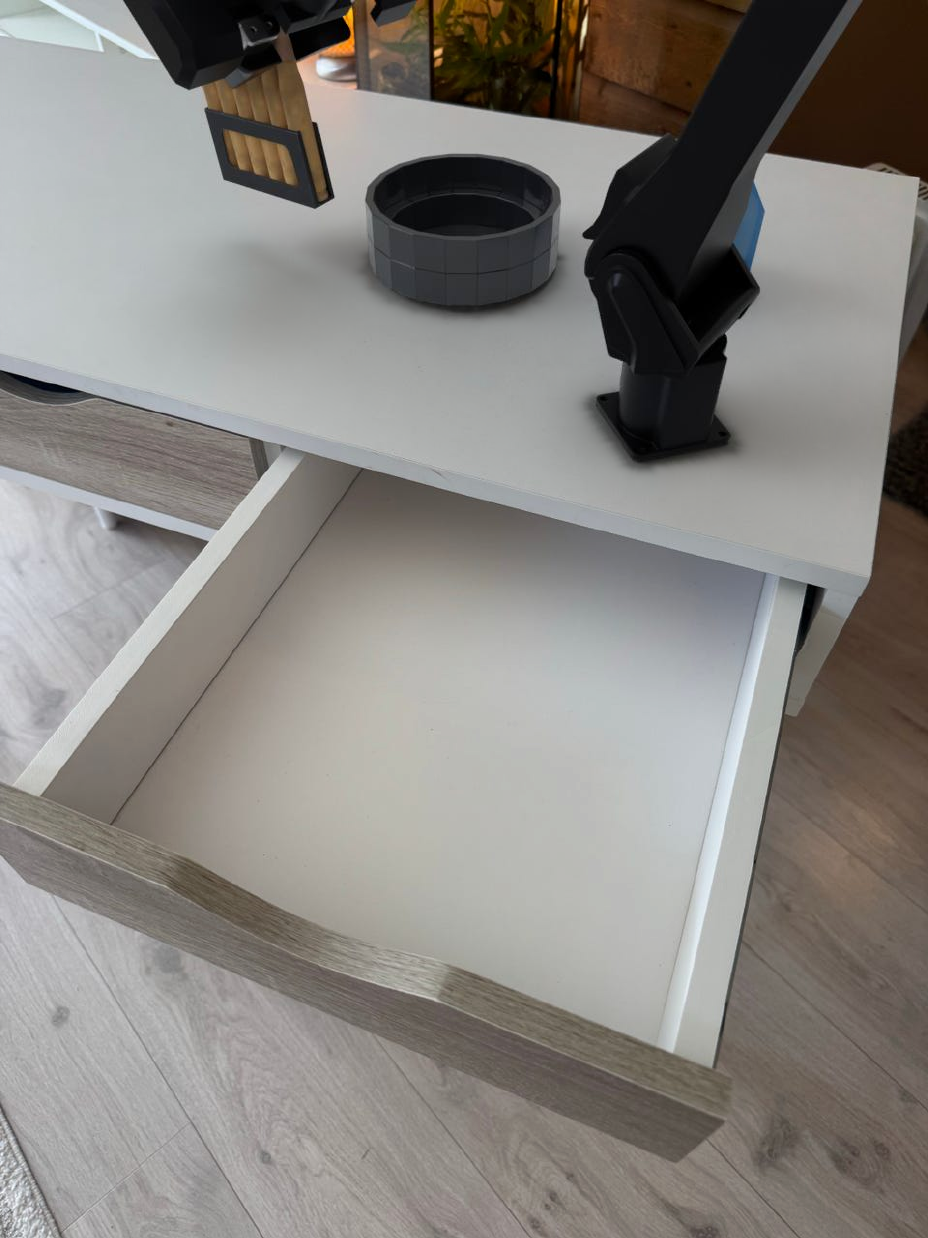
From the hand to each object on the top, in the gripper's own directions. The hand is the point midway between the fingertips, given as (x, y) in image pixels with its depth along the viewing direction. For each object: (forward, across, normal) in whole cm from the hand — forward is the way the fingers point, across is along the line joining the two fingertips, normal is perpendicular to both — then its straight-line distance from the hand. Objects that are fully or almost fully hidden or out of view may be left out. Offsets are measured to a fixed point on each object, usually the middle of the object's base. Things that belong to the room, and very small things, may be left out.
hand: (240, 77), depth 64 cm
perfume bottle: (-9, -18, +28) cm, 34 cm away
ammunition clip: (+4, 0, +6) cm, 8 cm away
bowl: (+1, -9, +18) cm, 20 cm away
